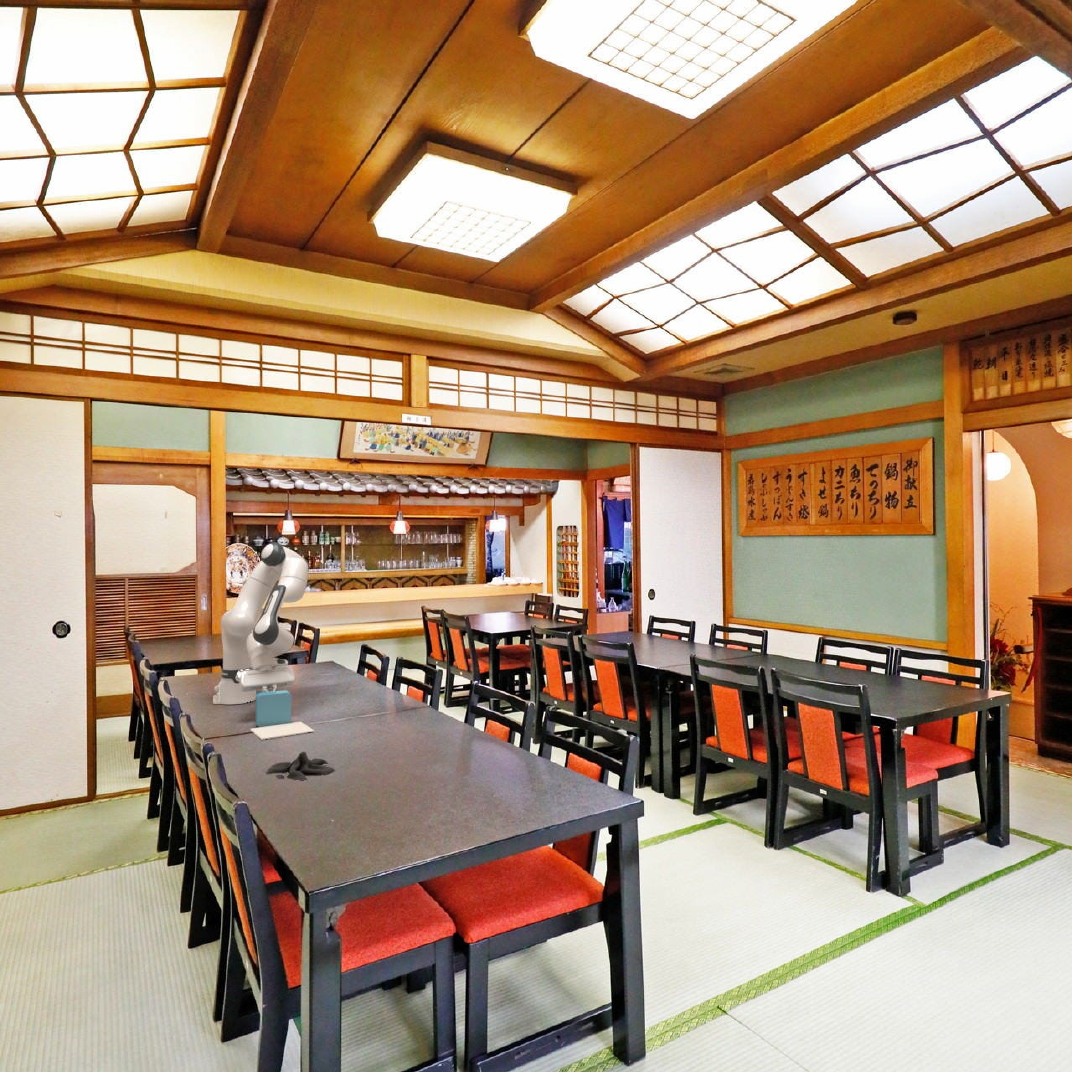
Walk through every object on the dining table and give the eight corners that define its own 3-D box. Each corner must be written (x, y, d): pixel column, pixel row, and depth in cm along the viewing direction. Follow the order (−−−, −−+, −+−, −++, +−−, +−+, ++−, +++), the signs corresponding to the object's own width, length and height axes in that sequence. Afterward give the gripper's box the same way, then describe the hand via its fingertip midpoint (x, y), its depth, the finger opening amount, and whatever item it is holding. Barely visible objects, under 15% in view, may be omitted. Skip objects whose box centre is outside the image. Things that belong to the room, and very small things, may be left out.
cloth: (259, 769, 207) (259, 748, 207) (322, 759, 217) (322, 739, 217) (277, 791, 189) (277, 768, 189) (345, 778, 199) (345, 757, 199)
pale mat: (250, 730, 249) (250, 728, 249) (300, 723, 260) (300, 721, 260) (261, 740, 236) (261, 738, 236) (314, 732, 247) (314, 730, 247)
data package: (289, 721, 262) (289, 689, 262) (291, 724, 258) (291, 692, 258) (255, 725, 257) (255, 692, 257) (256, 728, 253) (257, 695, 253)
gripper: (237, 665, 264) (244, 695, 256) (291, 659, 277) (299, 688, 269) (234, 675, 268) (241, 705, 260) (288, 669, 280) (296, 697, 272)
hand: (271, 696), depth 264 cm, fingers closed
